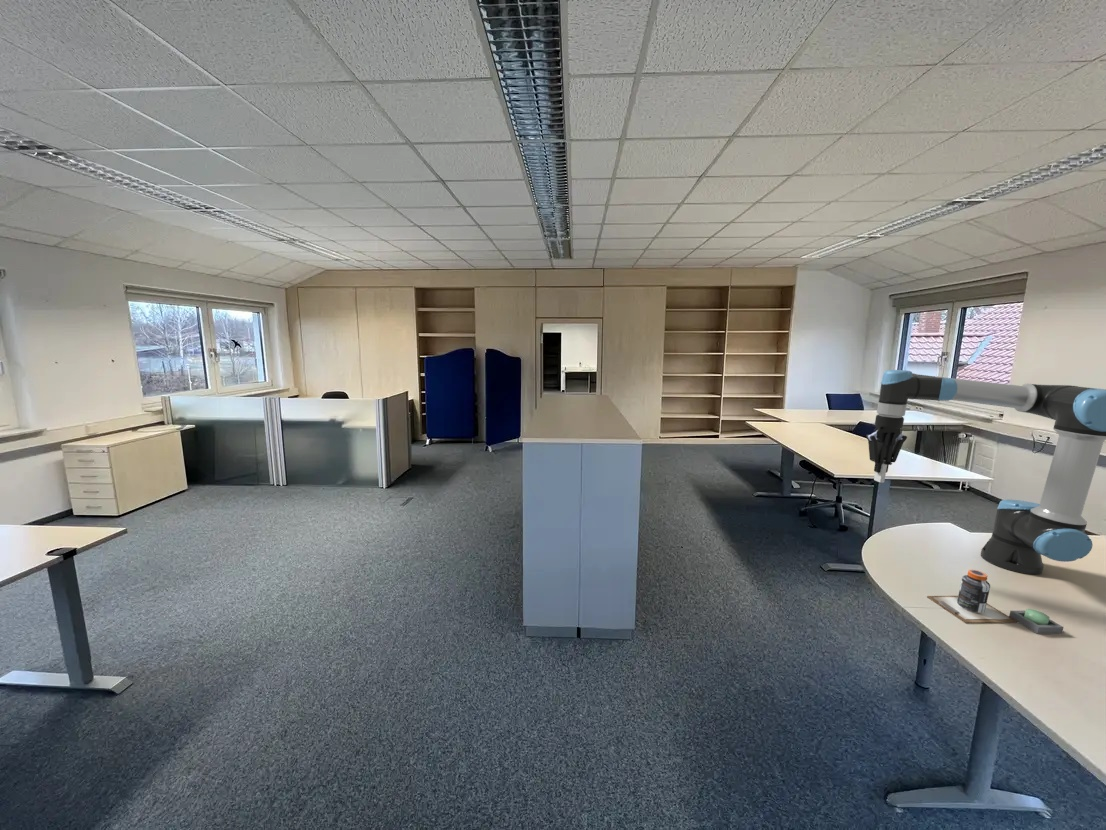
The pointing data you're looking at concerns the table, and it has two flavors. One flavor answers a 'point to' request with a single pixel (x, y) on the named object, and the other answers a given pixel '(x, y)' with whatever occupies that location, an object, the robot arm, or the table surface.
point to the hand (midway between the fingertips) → (879, 481)
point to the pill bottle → (974, 591)
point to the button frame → (1039, 629)
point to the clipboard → (971, 617)
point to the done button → (1037, 617)
